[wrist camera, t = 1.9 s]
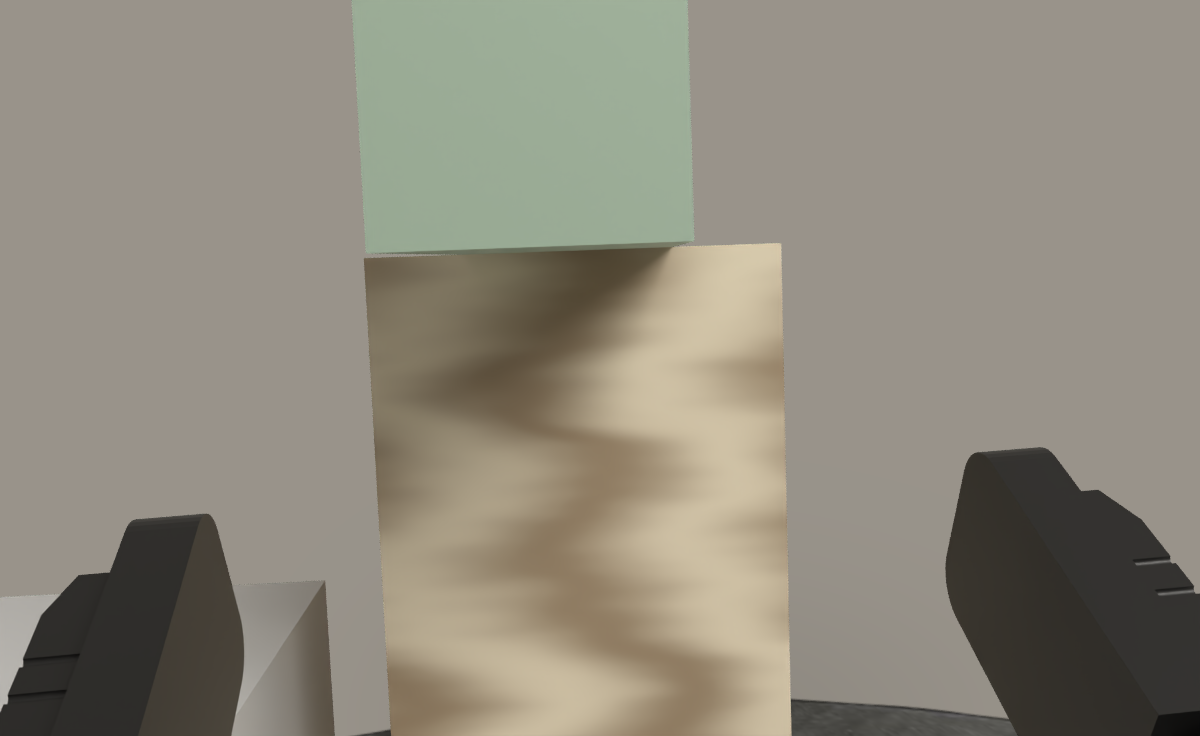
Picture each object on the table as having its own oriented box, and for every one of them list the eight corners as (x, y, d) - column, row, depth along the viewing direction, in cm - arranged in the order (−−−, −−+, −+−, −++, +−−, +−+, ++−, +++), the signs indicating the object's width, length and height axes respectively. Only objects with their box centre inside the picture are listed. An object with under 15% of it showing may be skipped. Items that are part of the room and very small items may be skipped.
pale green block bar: (694, 240, 17) (683, -117, 16) (366, 253, 17) (346, -100, 17) (658, 250, 43) (654, 112, 42) (528, 255, 43) (522, 118, 42)
